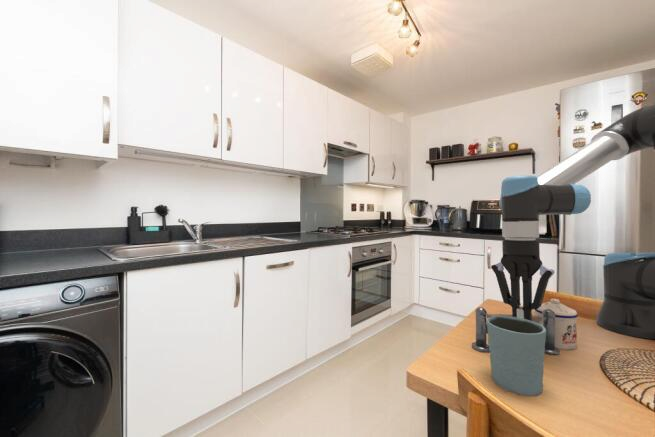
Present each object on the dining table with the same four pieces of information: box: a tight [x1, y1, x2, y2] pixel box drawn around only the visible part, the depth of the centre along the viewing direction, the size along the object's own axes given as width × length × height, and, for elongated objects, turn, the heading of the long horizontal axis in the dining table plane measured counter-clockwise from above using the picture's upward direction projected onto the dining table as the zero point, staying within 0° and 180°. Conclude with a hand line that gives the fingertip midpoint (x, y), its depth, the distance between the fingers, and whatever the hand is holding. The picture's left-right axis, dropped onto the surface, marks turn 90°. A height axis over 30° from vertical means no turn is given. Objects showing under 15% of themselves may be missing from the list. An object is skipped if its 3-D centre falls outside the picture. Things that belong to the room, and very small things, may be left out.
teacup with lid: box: [533, 298, 579, 351], centre depth 75 cm, size 12×9×12 cm
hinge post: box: [542, 309, 561, 356], centre depth 70 cm, size 4×4×10 cm
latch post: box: [471, 306, 490, 353], centre depth 72 cm, size 5×4×10 cm
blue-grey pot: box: [486, 316, 546, 397], centre depth 57 cm, size 10×10×12 cm
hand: (522, 334), depth 68 cm, fingers closed
